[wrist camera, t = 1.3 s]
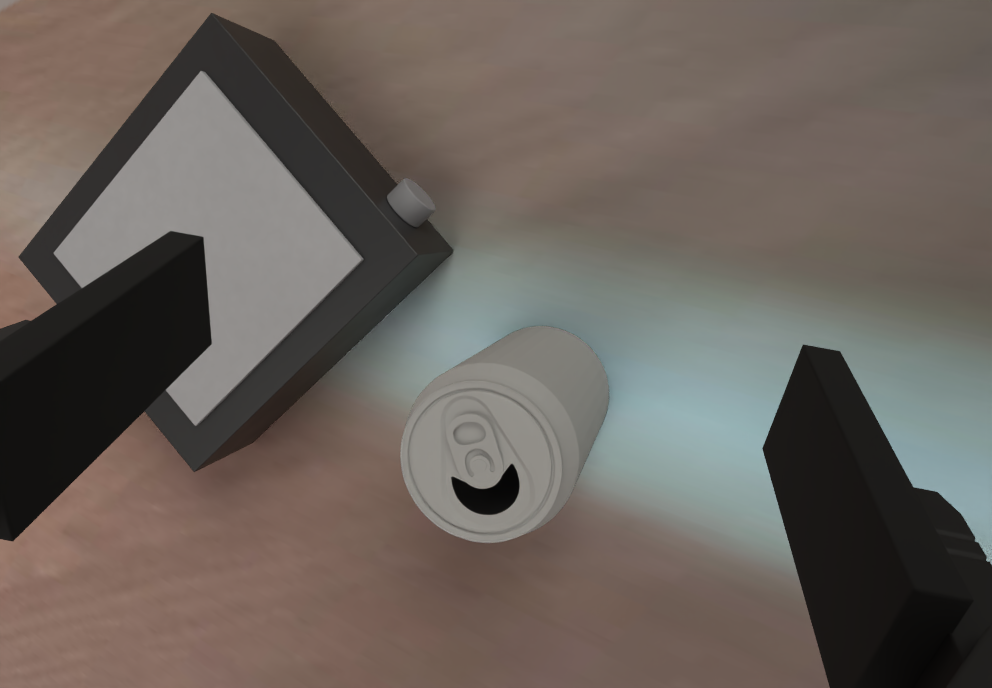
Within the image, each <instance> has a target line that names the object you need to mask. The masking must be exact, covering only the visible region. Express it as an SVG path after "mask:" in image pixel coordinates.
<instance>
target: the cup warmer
mask: <svg viewBox="0 0 992 688" xmlns="http://www.w3.org/2000/svg"><path fill="white" fill-rule="evenodd" d="M435 210H436V207H435V205H434V203H433V201H432V200H431V198H430V197H429V196H428V195H427V193H426V192H425V191H424V190H423V189H422V188H421V187H420V186H419V185H417V184H416V183H415V182H413V181H412V180H410V179H408V178H404V179H403V180H402V181H401V182H400V183H399V184H398V185H397V184H396V183H395V181H394V180H393V179H392V178H391V177H390V176H389V174H388V173H387V172H386V171H385V170H384V169H383V167H382V166H381V165H380V164H379V163H378V162H377V160H376V159H375V158H374V157H373V156H372V155H371V153H370V152H369V151H368V150H367V149H366V148H365V146H364V145H363V144H362V143H361V142H360V141H359V139H358V138H357V137H356V136H355V135H354V134H353V132H352V131H351V130H350V129H349V128H348V126H347V125H346V124H345V123H344V122H343V121H342V119H341V118H340V117H339V116H338V115H337V114H336V112H335V111H334V110H333V109H332V108H331V107H330V105H329V104H328V103H327V102H326V101H325V100H324V98H323V97H322V96H321V95H320V94H319V93H318V91H317V90H316V89H315V88H314V87H313V86H312V84H311V83H310V82H309V81H308V80H307V79H306V77H305V76H304V75H303V74H302V73H301V72H300V70H299V69H298V68H297V67H296V66H295V65H294V63H293V62H292V61H291V60H290V59H289V58H288V56H287V55H286V54H285V53H284V52H283V51H282V49H281V48H280V47H279V46H278V45H277V44H276V42H275V41H274V40H272V39H270V38H267V37H265V36H263V35H261V34H258V33H256V32H254V31H251V30H249V29H247V28H245V27H242V26H240V25H238V24H236V23H233V22H231V21H229V20H227V19H224V18H222V17H220V16H218V15H215V14H213V13H211V14H210V15H209V17H208V18H207V19H206V20H205V22H204V23H203V24H202V25H201V27H200V28H199V29H198V30H197V32H196V33H195V34H194V35H193V37H192V38H191V39H190V41H189V42H188V43H187V44H186V46H185V47H184V48H183V49H182V51H181V52H180V53H179V54H178V56H177V57H176V58H175V60H174V61H173V62H172V63H171V65H170V66H169V67H168V68H167V70H166V71H165V72H164V73H163V75H162V76H161V77H160V79H159V80H158V81H157V82H156V84H155V85H154V86H153V87H152V89H151V90H150V91H149V92H148V94H147V95H146V96H145V97H144V99H143V100H142V101H141V103H140V104H139V105H138V106H137V108H136V109H135V110H134V111H133V113H132V114H131V115H130V116H129V118H128V119H127V120H126V122H125V123H124V124H123V125H122V127H121V128H120V129H119V130H118V132H117V133H116V134H115V135H114V137H113V138H112V139H111V141H110V142H109V143H108V144H107V146H106V147H105V148H104V149H103V151H102V152H101V153H100V154H99V156H98V157H97V158H96V159H95V161H94V162H93V163H92V165H91V166H90V167H89V168H88V170H87V171H86V172H85V173H84V175H83V176H82V177H81V178H80V180H79V181H78V182H77V184H76V185H75V186H74V187H73V189H72V190H71V191H70V192H69V194H68V195H67V196H66V197H65V199H64V200H63V201H62V202H61V204H60V205H59V206H58V208H57V209H56V210H55V211H54V213H53V214H52V215H51V216H50V218H49V219H48V220H47V221H46V223H45V224H44V225H43V227H42V228H41V229H40V230H39V232H38V233H37V234H36V235H35V237H34V238H33V239H32V240H31V242H30V243H29V244H28V246H27V247H26V248H25V249H24V251H23V252H22V253H21V254H20V256H19V258H20V260H21V261H22V262H23V263H24V265H25V266H26V267H27V268H28V269H29V271H30V272H31V273H32V274H33V276H34V277H35V278H36V279H37V280H38V282H39V283H40V284H41V285H42V287H43V288H44V289H45V290H46V291H47V293H48V294H49V295H50V296H51V298H52V299H53V300H54V301H55V302H56V304H58V303H60V302H61V301H63V300H64V299H66V298H68V297H69V296H71V295H72V294H74V293H75V292H77V291H78V290H80V289H81V288H83V287H85V286H86V285H88V284H89V283H91V282H92V281H94V280H95V279H97V278H98V277H100V276H102V275H103V274H105V273H106V272H108V271H109V270H111V269H112V268H114V267H115V266H117V265H119V264H120V263H122V262H123V261H125V260H126V259H128V258H129V257H131V256H132V255H134V254H136V253H137V252H139V251H140V250H142V249H143V248H145V247H146V246H148V245H149V244H151V243H153V242H154V241H156V240H157V239H159V238H160V237H162V236H163V235H165V234H166V233H168V232H170V231H174V232H180V233H185V234H191V235H196V236H202V237H204V249H205V262H206V275H207V288H208V300H209V313H210V326H211V339H212V344H211V345H210V346H209V347H208V348H207V349H206V350H205V351H204V352H203V353H202V354H201V355H200V356H199V357H198V358H197V359H196V360H195V361H194V362H193V363H192V364H191V365H190V366H189V367H188V368H187V369H186V370H185V371H184V372H183V373H182V374H181V375H180V376H179V377H178V378H177V379H176V380H175V381H174V382H173V383H172V384H171V385H170V386H169V387H168V388H167V389H166V390H165V391H164V392H163V393H162V394H161V395H160V396H159V397H158V398H157V399H156V400H155V401H154V402H153V403H152V404H151V405H150V406H149V407H148V408H147V409H146V410H145V412H146V414H147V415H148V416H149V417H150V419H151V420H152V421H153V422H154V423H155V425H156V426H157V427H158V428H159V430H160V431H161V432H162V433H163V435H164V436H165V437H166V438H167V439H168V441H169V442H170V443H171V444H172V446H173V447H174V448H175V449H176V450H177V452H178V453H179V454H180V455H181V457H182V458H183V459H184V460H185V461H186V463H187V464H188V465H189V466H190V468H191V469H192V470H193V471H194V472H195V471H197V470H199V469H201V468H203V467H205V466H207V465H209V464H211V463H213V462H215V461H217V460H219V459H221V458H223V457H225V456H227V455H229V454H231V453H233V452H235V451H237V450H239V449H241V448H243V447H245V446H247V445H249V444H251V443H253V442H254V441H255V440H256V439H257V438H258V437H259V436H260V435H261V434H262V433H263V432H264V431H266V430H267V429H268V428H269V427H270V426H271V425H272V424H273V423H274V422H275V421H276V420H277V419H278V418H279V417H280V416H281V415H282V414H283V413H284V412H285V411H287V410H288V409H289V408H290V407H291V406H292V405H293V404H294V403H295V402H296V401H297V400H298V399H299V398H300V397H301V396H302V395H303V394H304V393H305V392H306V391H308V390H309V389H310V388H311V387H312V386H313V385H314V384H315V383H316V382H317V381H318V380H319V379H320V378H321V377H322V376H323V375H324V374H325V373H326V372H327V371H329V370H330V369H331V368H332V367H333V366H334V365H335V364H336V363H337V362H338V361H339V360H340V359H341V358H342V357H343V356H344V355H345V354H346V353H347V352H348V351H350V350H351V349H352V348H353V347H354V346H355V345H356V344H357V343H358V342H359V341H360V340H361V339H362V338H363V337H364V336H365V335H366V334H367V333H368V332H369V331H371V330H372V329H373V328H374V327H375V326H376V325H377V324H378V323H379V322H380V321H381V320H382V319H383V318H384V317H385V316H386V315H387V314H388V313H389V312H390V311H392V310H393V309H394V308H395V307H396V306H397V305H398V304H399V303H400V302H401V301H402V300H403V299H404V298H405V297H406V296H407V295H408V294H409V293H410V292H411V291H413V290H414V289H415V288H416V287H417V286H418V285H419V284H420V283H421V282H422V281H423V280H424V279H425V278H426V277H427V276H428V275H429V274H430V273H431V272H432V271H434V270H435V269H436V268H437V267H438V266H439V265H440V264H441V263H442V262H443V261H444V260H445V259H446V258H447V257H448V256H449V255H450V254H451V253H452V252H453V249H452V248H451V247H450V246H449V245H448V243H447V242H446V241H445V240H444V239H443V238H442V236H441V235H440V234H439V233H438V232H437V231H436V229H435V228H434V227H433V226H432V225H431V223H430V222H429V221H428V220H427V218H428V217H429V216H430V215H431V214H432V213H433V212H434V211H435Z"/></svg>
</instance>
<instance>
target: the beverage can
mask: <svg viewBox="0 0 992 688" xmlns="http://www.w3.org/2000/svg"><path fill="white" fill-rule="evenodd" d="M608 404H609V385H608V379H607V375H606V373H605V370H604V368H603V365H602V363H601V362H600V360H599V358H598V357H597V355H596V354H595V353H594V351H593V350H592V349H591V348H590V347H589V346H588V345H587V344H586V343H585V342H584V341H582V340H581V339H580V338H578V337H577V336H575V335H573V334H571V333H569V332H567V331H564V330H562V329H558V328H554V327H548V326H533V327H527V328H523V329H520V330H517V331H515V332H512V333H511V334H509V335H507V336H506V337H504V338H502V339H500V340H499V341H497V342H495V343H494V344H492V345H490V346H489V347H487V348H485V349H484V350H482V351H480V352H479V353H477V354H475V355H474V356H472V357H470V358H469V359H467V360H465V361H463V362H462V363H460V364H458V365H457V366H455V367H453V368H452V369H450V370H448V371H447V372H445V373H443V374H442V375H440V376H438V377H437V378H436V379H434V380H433V381H432V382H431V383H430V384H429V385H428V386H427V387H426V388H425V389H424V390H423V391H422V392H421V393H420V395H419V396H418V398H417V399H416V401H415V403H414V404H413V406H412V408H411V410H410V413H409V416H408V418H407V422H406V426H405V430H404V433H403V437H402V441H401V450H400V460H401V468H402V474H403V478H404V481H405V484H406V486H407V489H408V491H409V493H410V495H411V497H412V499H413V500H414V502H415V503H416V505H417V506H418V508H419V509H420V510H421V511H422V512H423V514H424V515H425V516H426V517H427V518H428V519H429V520H431V521H432V522H433V523H434V524H435V525H437V526H438V527H439V528H441V529H443V530H444V531H446V532H447V533H449V534H451V535H454V536H457V537H460V538H462V539H465V540H469V541H472V542H480V543H497V542H504V541H507V540H511V539H514V538H517V537H519V536H521V535H524V534H527V533H530V532H532V531H534V530H536V529H538V528H540V527H542V526H543V525H545V524H546V523H547V522H549V521H550V520H551V519H552V518H553V517H554V516H555V515H556V514H557V513H558V512H559V511H560V510H561V509H562V508H563V506H564V505H565V503H566V502H567V500H568V498H569V497H570V495H571V493H572V491H573V488H574V486H575V484H576V482H577V479H578V477H579V475H580V473H581V470H582V468H583V466H584V464H585V461H586V459H587V457H588V455H589V452H590V450H591V448H592V446H593V443H594V441H595V439H596V437H597V434H598V432H599V430H600V428H601V425H602V423H603V421H604V418H605V416H606V413H607V409H608Z"/></svg>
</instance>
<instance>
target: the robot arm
mask: <svg viewBox="0 0 992 688" xmlns="http://www.w3.org/2000/svg"><path fill="white" fill-rule="evenodd" d="M211 344H212V339H211V326H210V313H209V300H208V288H207V275H206V262H205V249H204V237H202V236H196V235H191V234H185V233H180V232H174V231H170V232H168V233H166V234H165V235H163V236H162V237H160V238H159V239H157V240H156V241H154V242H153V243H151V244H149V245H148V246H146V247H145V248H143V249H142V250H140V251H139V252H137V253H136V254H134V255H132V256H131V257H129V258H128V259H126V260H125V261H123V262H122V263H120V264H119V265H117V266H115V267H114V268H112V269H111V270H109V271H108V272H106V273H105V274H103V275H102V276H100V277H98V278H97V279H95V280H94V281H92V282H91V283H89V284H88V285H86V286H85V287H83V288H81V289H80V290H78V291H77V292H75V293H74V294H72V295H71V296H69V297H68V298H66V299H64V300H63V301H61V302H60V303H58V304H57V305H55V306H54V307H52V308H51V309H49V310H47V311H46V312H44V313H43V314H41V315H40V316H38V317H37V318H35V319H34V320H32V321H29V320H24V321H21V322H18V323H16V324H13V325H10V326H7V327H4V328H1V329H0V539H4V540H8V541H14V540H15V539H16V538H17V537H18V536H19V535H20V534H21V533H22V532H23V531H24V530H25V529H26V528H27V527H28V526H29V525H30V524H31V523H32V522H33V521H34V520H35V519H36V518H37V517H38V516H39V515H40V514H41V513H42V512H43V511H44V510H45V509H46V508H47V507H48V506H49V505H50V504H51V503H52V502H53V501H54V500H55V499H56V498H57V497H58V496H59V495H60V494H61V493H62V492H63V491H64V490H65V489H66V488H67V487H68V486H69V485H70V484H71V483H72V482H73V481H74V480H75V479H76V478H77V477H78V476H79V475H80V474H81V473H82V472H83V471H84V470H85V469H86V468H87V467H88V466H89V465H90V464H91V463H92V462H93V461H94V460H95V459H96V458H97V457H98V456H99V455H100V454H101V453H102V452H103V451H104V450H106V449H107V448H108V447H109V446H110V445H111V444H112V443H113V442H114V441H115V440H116V439H117V438H118V437H119V436H120V435H121V434H122V433H123V432H124V431H125V430H126V429H127V428H128V427H129V426H130V425H131V424H132V423H133V422H134V421H135V420H136V419H137V418H138V417H139V416H140V415H141V414H142V413H143V412H144V411H145V410H146V409H147V408H148V407H149V406H150V405H151V404H152V403H153V402H154V401H155V400H156V399H157V398H158V397H159V396H160V395H161V394H162V393H163V392H164V391H165V390H166V389H167V388H168V387H169V386H170V385H171V384H172V383H173V382H174V381H175V380H176V379H177V378H178V377H179V376H180V375H181V374H182V373H183V372H184V371H185V370H186V369H187V368H188V367H189V366H190V365H191V364H192V363H193V362H194V361H195V360H196V359H197V358H198V357H199V356H200V355H201V354H202V353H203V352H204V351H205V350H206V349H207V348H208V347H209V346H210V345H211ZM763 452H764V456H765V459H766V463H767V466H768V470H769V473H770V477H771V480H772V484H773V487H774V491H775V495H776V498H777V502H778V505H779V509H780V512H781V516H782V519H783V523H784V526H785V530H786V534H787V537H788V541H789V544H790V548H791V551H792V555H793V558H794V562H795V565H796V569H797V573H798V576H799V580H800V583H801V587H802V590H803V594H804V597H805V601H806V604H807V608H808V612H809V615H810V619H811V622H812V626H813V629H814V633H815V636H816V640H817V643H818V647H819V651H820V654H821V658H822V661H823V665H824V668H825V672H826V675H827V679H828V682H829V686H830V688H992V565H991V564H990V562H987V561H986V558H987V557H986V555H985V553H984V552H983V550H982V548H981V547H980V545H979V543H978V542H975V537H974V535H973V533H972V532H971V530H970V528H969V527H968V525H967V523H966V522H965V520H964V518H963V517H962V515H961V514H960V513H959V512H958V511H957V510H956V509H955V508H954V507H953V506H952V505H951V504H949V503H948V502H947V501H946V500H945V499H944V498H943V497H942V496H941V495H940V494H939V493H938V492H935V491H929V490H924V489H919V488H914V487H913V486H912V484H911V482H910V481H909V479H908V477H907V475H906V473H905V471H904V469H903V468H902V466H901V464H900V462H899V460H898V458H897V456H896V455H895V453H894V451H893V449H892V447H891V445H890V443H889V441H888V440H887V438H886V436H885V434H884V432H883V430H882V428H881V427H880V425H879V423H878V421H877V419H876V417H875V415H874V414H873V412H872V410H871V408H870V406H869V404H868V402H867V401H866V399H865V397H864V395H863V393H862V391H861V389H860V388H859V386H858V384H857V382H856V380H855V378H854V376H853V374H852V373H851V371H850V369H849V367H848V365H847V363H846V361H845V360H844V358H843V356H842V354H841V352H840V351H835V350H830V349H824V348H819V347H813V346H808V345H803V346H802V349H801V351H800V354H799V356H798V359H797V361H796V364H795V366H794V369H793V372H792V374H791V377H790V379H789V382H788V384H787V387H786V390H785V392H784V395H783V397H782V400H781V402H780V405H779V408H778V410H777V413H776V415H775V418H774V420H773V423H772V426H771V428H770V431H769V433H768V436H767V438H766V441H765V444H764V446H763Z"/></svg>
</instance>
